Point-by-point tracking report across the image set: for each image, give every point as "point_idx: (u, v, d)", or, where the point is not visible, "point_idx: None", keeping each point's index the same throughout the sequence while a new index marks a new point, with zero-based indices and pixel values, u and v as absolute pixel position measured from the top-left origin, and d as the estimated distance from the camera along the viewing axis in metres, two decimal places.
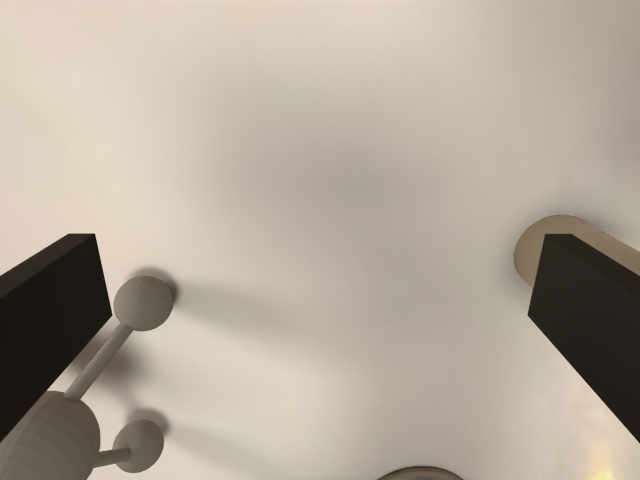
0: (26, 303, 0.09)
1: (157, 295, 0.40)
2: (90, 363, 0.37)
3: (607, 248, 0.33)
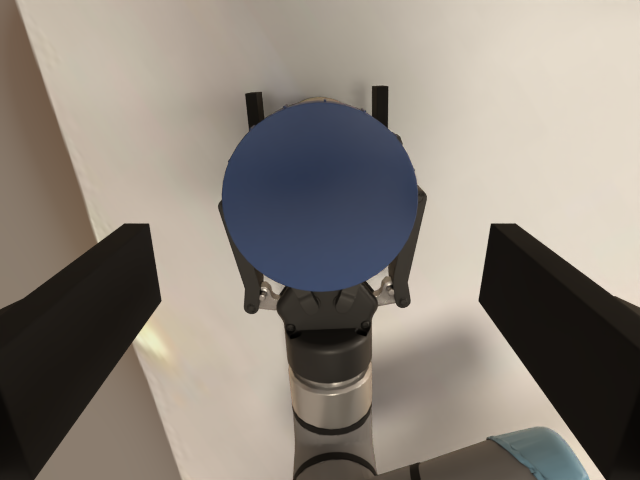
0: (101, 284, 0.10)
1: None
2: None
3: None
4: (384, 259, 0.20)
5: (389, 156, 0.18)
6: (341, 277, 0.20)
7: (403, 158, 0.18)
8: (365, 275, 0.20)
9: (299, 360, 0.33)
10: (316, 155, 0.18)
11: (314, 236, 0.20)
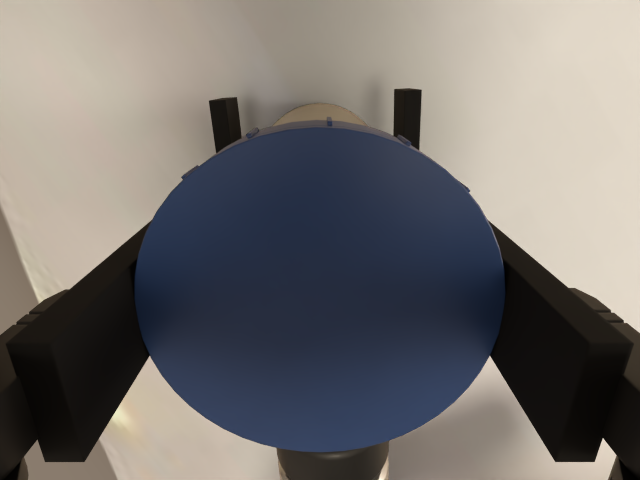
0: None
1: None
2: None
3: None
4: (435, 404, 0.11)
5: (455, 231, 0.09)
6: (358, 431, 0.11)
7: (482, 234, 0.09)
8: (400, 428, 0.11)
9: (292, 462, 0.24)
10: (313, 229, 0.09)
11: (309, 368, 0.11)
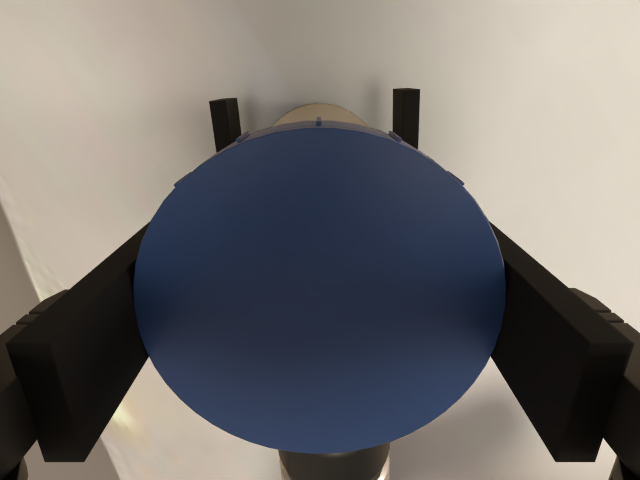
0: None
1: None
2: None
3: None
4: (373, 153, 0.09)
5: (172, 250, 0.09)
6: (449, 218, 0.09)
7: (161, 225, 0.09)
8: (426, 173, 0.09)
9: (293, 459, 0.25)
10: (241, 356, 0.10)
11: (382, 302, 0.10)
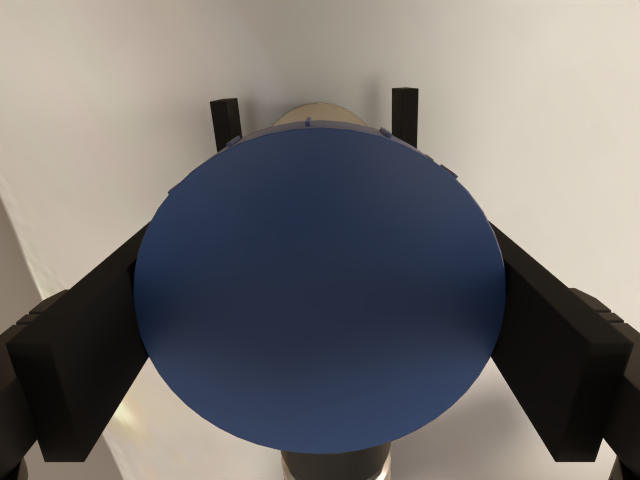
0: None
1: None
2: None
3: None
4: (156, 342, 0.10)
5: (313, 435, 0.11)
6: (166, 262, 0.10)
7: (296, 446, 0.12)
8: (144, 300, 0.10)
9: (295, 457, 0.25)
10: (392, 362, 0.11)
11: (275, 274, 0.10)
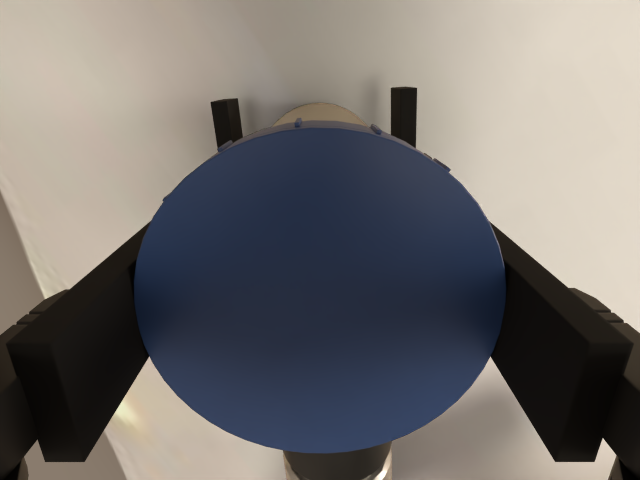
0: None
1: None
2: None
3: None
4: (407, 423, 0.11)
5: (471, 263, 0.10)
6: (325, 436, 0.12)
7: (495, 272, 0.10)
8: (367, 441, 0.12)
9: (296, 454, 0.25)
10: (337, 231, 0.09)
11: (296, 365, 0.11)
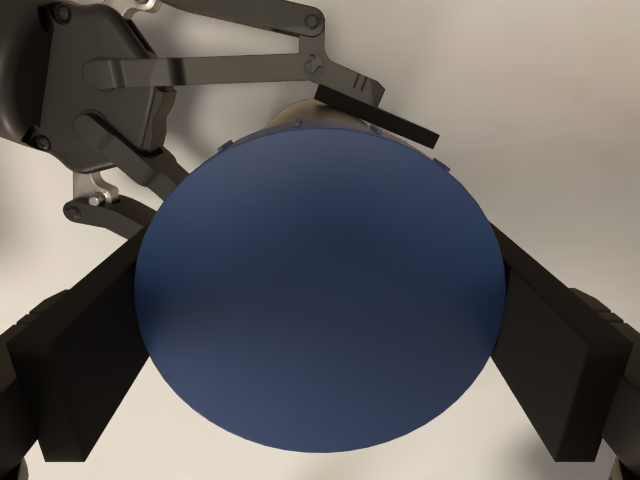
0: None
1: None
2: None
3: None
4: (407, 423, 0.11)
5: (471, 263, 0.10)
6: (325, 436, 0.12)
7: (494, 271, 0.10)
8: (367, 440, 0.12)
9: None
10: (337, 230, 0.09)
11: (295, 365, 0.11)
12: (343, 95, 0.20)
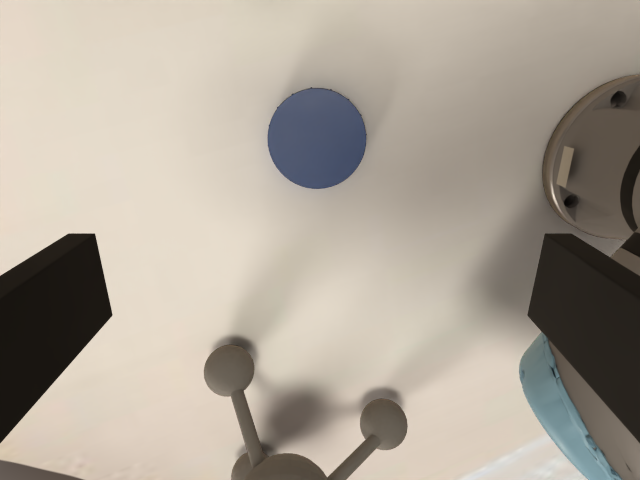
0: (26, 303, 0.09)
1: (215, 360, 0.44)
2: None
3: None
4: (342, 177, 0.39)
5: (355, 124, 0.37)
6: (318, 182, 0.39)
7: (362, 126, 0.37)
8: (331, 183, 0.39)
9: None
10: (321, 115, 0.37)
11: (310, 156, 0.38)
12: None
